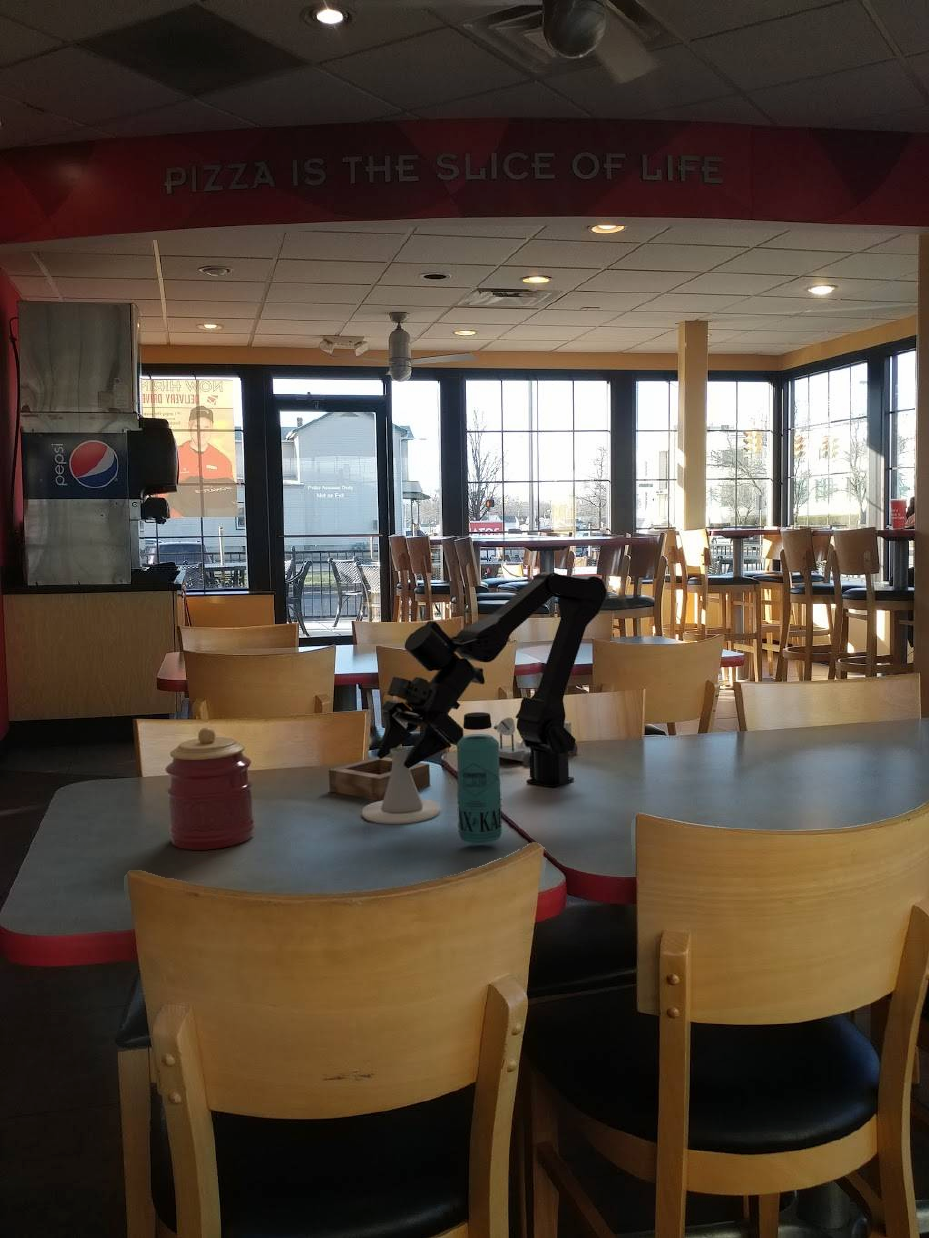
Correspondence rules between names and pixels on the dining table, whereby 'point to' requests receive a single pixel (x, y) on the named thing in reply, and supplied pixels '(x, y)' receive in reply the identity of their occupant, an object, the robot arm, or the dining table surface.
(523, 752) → the toy car
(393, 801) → the flask
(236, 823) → the canister
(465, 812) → the beverage bottle
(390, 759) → the walnut collar
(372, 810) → the ceramic plate
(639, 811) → the dining table surface
